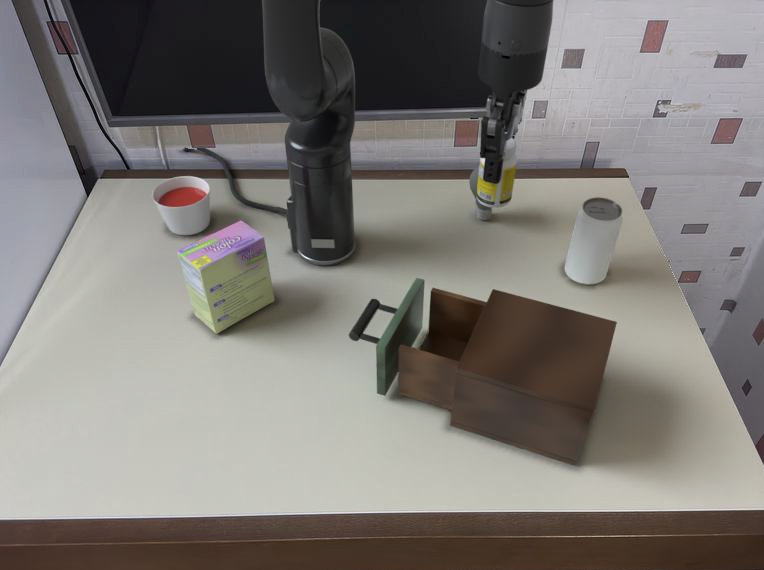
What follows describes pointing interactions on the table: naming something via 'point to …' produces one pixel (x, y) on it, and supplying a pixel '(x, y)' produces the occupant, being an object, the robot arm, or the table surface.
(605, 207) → the can
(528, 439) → the cabinet
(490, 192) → the supplement bottle
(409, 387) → the drawer
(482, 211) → the light bulb
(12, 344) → the table surface
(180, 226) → the candle
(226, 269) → the box
